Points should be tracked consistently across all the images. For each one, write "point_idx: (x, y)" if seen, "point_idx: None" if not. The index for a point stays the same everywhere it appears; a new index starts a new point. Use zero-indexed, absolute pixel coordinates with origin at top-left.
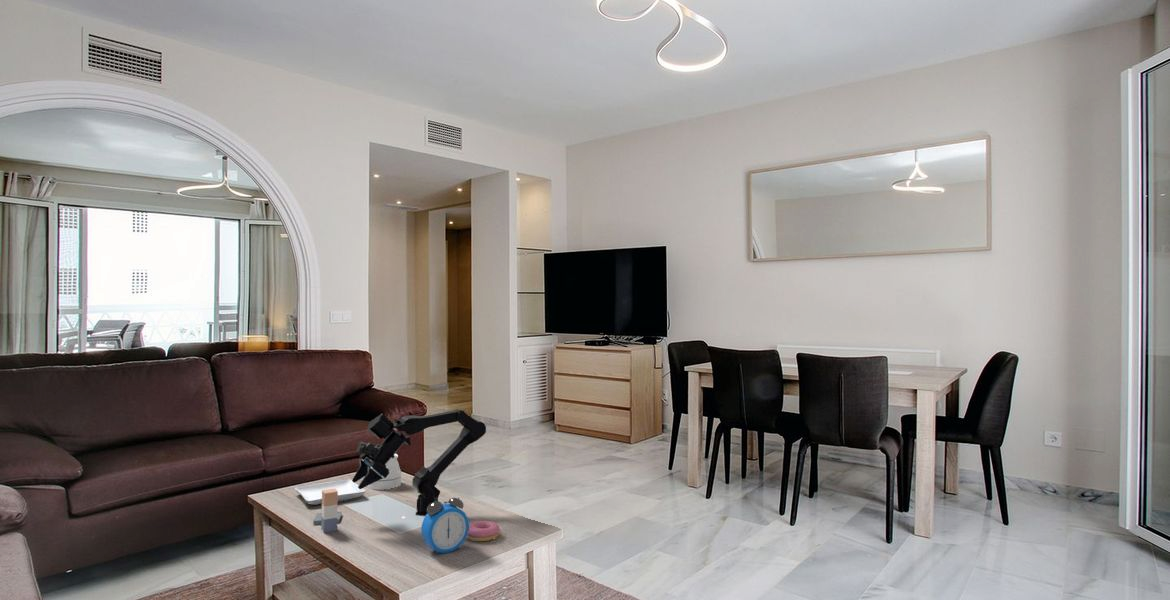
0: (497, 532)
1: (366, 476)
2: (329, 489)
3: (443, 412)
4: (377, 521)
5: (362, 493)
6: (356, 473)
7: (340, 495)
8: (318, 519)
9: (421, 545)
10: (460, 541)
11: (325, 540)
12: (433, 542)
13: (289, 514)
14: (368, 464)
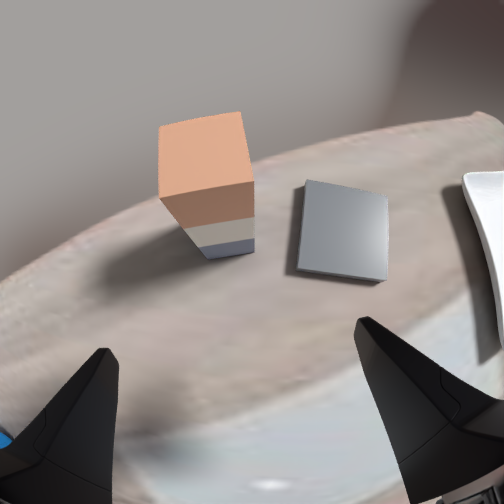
0: None
1: (28, 427)
2: (239, 146)
3: None
4: (256, 409)
5: (501, 343)
6: (402, 364)
7: (494, 273)
8: (318, 195)
9: None
10: None
11: (130, 221)
12: None
13: (410, 139)
14: (460, 494)
